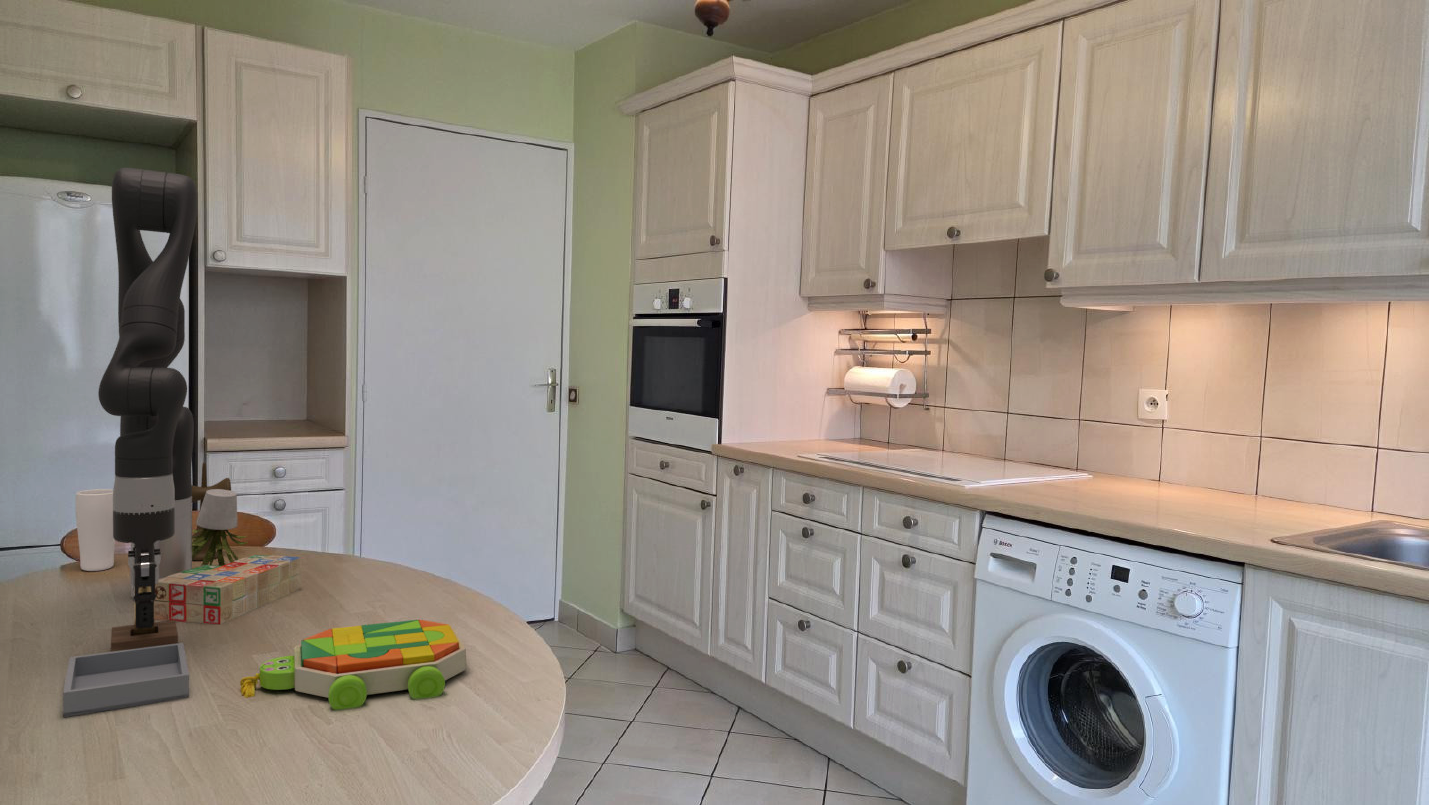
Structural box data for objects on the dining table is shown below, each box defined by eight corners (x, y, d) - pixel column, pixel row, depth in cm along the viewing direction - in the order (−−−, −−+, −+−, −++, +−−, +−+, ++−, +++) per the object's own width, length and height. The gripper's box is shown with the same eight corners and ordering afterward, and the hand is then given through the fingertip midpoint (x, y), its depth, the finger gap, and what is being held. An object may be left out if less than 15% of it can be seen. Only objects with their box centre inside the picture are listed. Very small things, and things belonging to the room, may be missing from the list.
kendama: (231, 560, 185) (232, 463, 184) (177, 565, 180) (177, 465, 179) (229, 554, 190) (229, 459, 189) (175, 558, 185) (176, 461, 184)
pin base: (111, 647, 133) (111, 627, 132) (175, 639, 137) (175, 620, 137) (110, 664, 126) (110, 643, 126) (177, 655, 130) (177, 635, 130)
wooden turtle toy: (243, 668, 127) (243, 629, 127) (448, 646, 139) (449, 611, 139) (235, 729, 108) (235, 683, 107) (474, 698, 120) (475, 657, 119)
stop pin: (134, 650, 132) (133, 568, 131) (154, 647, 133) (154, 567, 132) (134, 655, 130) (134, 572, 129) (154, 652, 131) (154, 571, 130)
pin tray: (69, 679, 120) (69, 657, 120) (183, 663, 127) (183, 642, 127) (63, 717, 108) (63, 693, 108) (188, 698, 115) (188, 674, 115)
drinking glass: (89, 564, 178) (88, 488, 177) (125, 564, 179) (125, 489, 178) (67, 572, 172) (67, 494, 171) (105, 573, 172) (105, 495, 171)
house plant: (266, 507, 169) (253, 591, 171) (272, 489, 182) (260, 567, 183) (179, 499, 164) (166, 586, 165) (192, 481, 176) (180, 561, 178)
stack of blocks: (301, 590, 165) (240, 585, 167) (301, 556, 165) (240, 552, 167) (219, 625, 144) (150, 619, 146) (219, 587, 144) (150, 581, 146)
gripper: (176, 512, 126) (176, 633, 127) (172, 496, 138) (172, 606, 139) (112, 516, 122) (112, 640, 123) (113, 499, 134) (113, 613, 135)
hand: (144, 622), depth 131 cm, fingers open, 4 cm apart
